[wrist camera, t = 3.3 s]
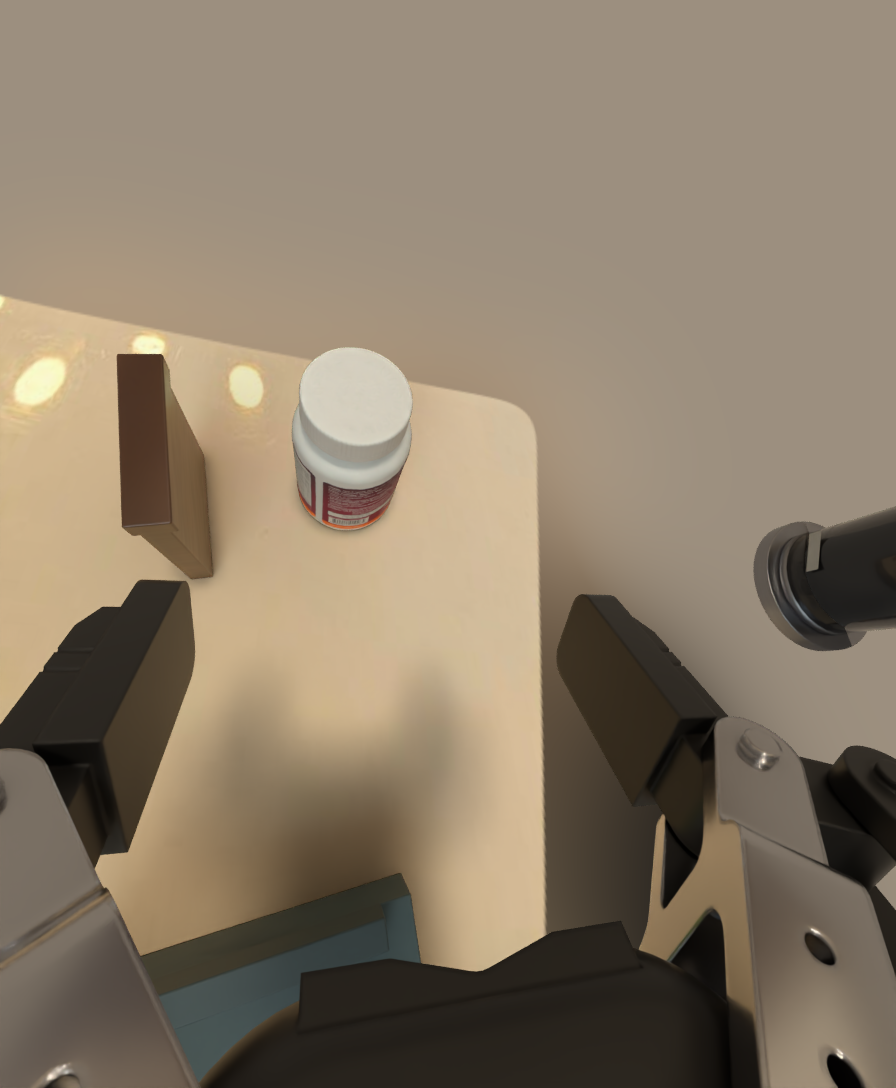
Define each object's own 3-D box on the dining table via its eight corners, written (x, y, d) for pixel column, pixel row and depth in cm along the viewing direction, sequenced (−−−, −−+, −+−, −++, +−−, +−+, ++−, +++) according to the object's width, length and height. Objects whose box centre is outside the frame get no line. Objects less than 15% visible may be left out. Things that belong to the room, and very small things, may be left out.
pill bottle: (408, 484, 34) (450, 392, 23) (353, 551, 31) (372, 482, 21) (337, 430, 33) (346, 312, 23) (276, 494, 31) (256, 395, 21)
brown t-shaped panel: (209, 454, 31) (162, 353, 21) (218, 576, 29) (171, 523, 19) (177, 455, 30) (115, 353, 21) (185, 580, 28) (121, 528, 19)
